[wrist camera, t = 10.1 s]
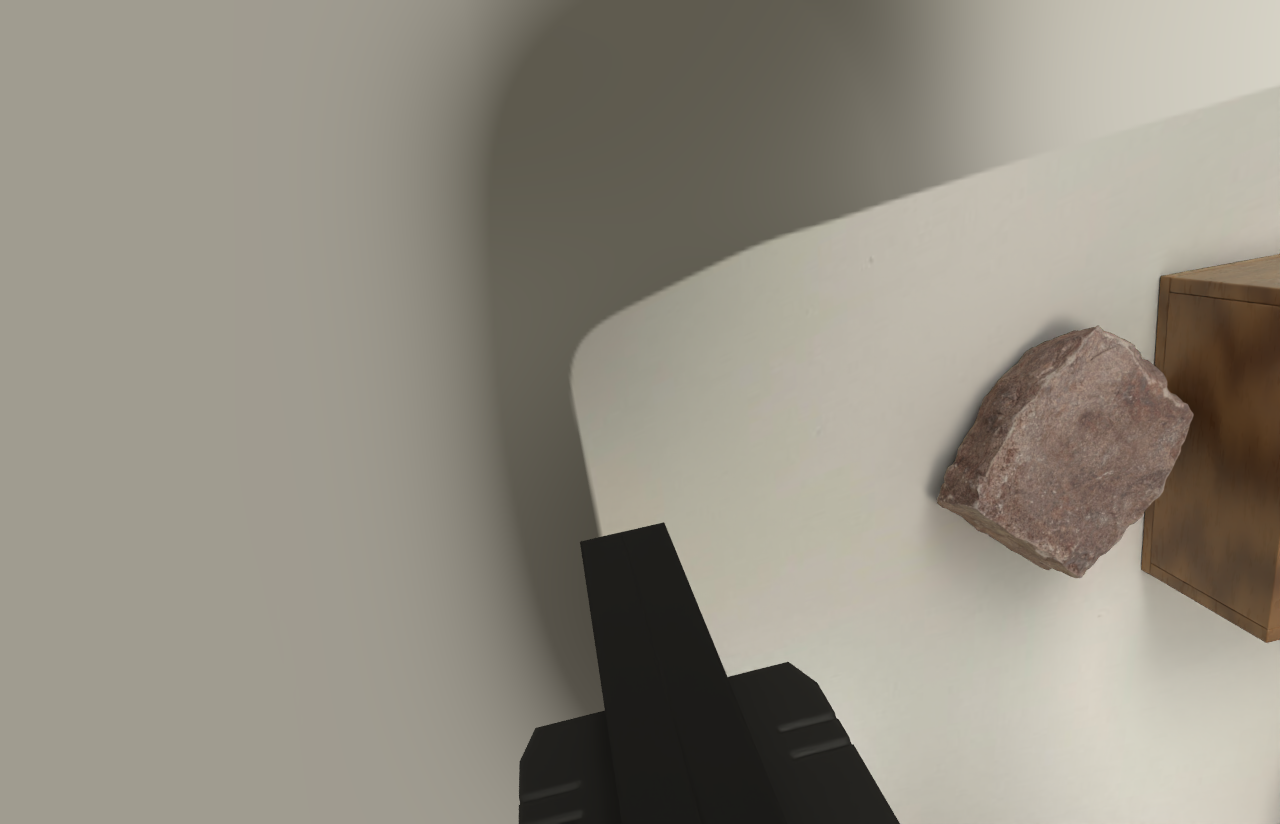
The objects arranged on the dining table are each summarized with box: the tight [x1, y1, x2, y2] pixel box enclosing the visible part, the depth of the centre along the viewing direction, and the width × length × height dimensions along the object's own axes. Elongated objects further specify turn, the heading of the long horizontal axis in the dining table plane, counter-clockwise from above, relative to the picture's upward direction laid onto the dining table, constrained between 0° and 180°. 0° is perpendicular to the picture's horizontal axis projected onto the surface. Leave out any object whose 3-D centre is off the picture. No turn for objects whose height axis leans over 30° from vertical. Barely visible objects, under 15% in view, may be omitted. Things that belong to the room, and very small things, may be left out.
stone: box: [937, 326, 1194, 578], centre depth 36 cm, size 12×9×5 cm
